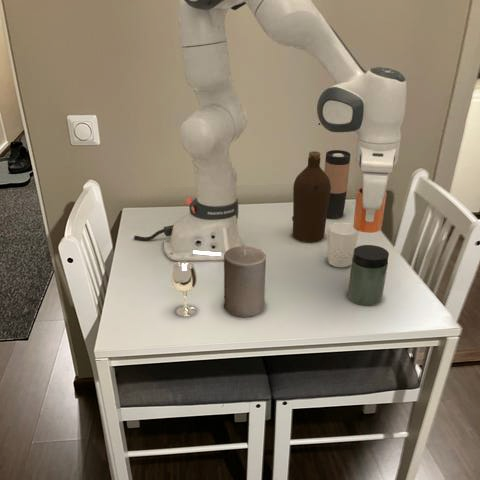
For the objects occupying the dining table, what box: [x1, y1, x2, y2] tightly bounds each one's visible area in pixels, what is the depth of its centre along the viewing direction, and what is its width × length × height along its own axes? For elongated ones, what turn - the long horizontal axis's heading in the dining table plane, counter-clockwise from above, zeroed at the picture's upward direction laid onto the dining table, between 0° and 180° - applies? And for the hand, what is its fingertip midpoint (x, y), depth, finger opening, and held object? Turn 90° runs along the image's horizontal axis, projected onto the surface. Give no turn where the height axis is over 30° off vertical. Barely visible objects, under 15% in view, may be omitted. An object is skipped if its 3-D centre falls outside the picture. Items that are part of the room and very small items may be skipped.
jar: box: [347, 258, 389, 307], centre depth 133 cm, size 8×8×12 cm
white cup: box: [327, 222, 359, 268], centre depth 149 cm, size 8×8×10 cm
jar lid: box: [353, 244, 390, 268], centre depth 130 cm, size 8×8×2 cm
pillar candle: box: [223, 245, 267, 318], centre depth 128 cm, size 10×10×15 cm
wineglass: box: [170, 261, 198, 317], centre depth 127 cm, size 6×6×12 cm
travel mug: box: [323, 149, 352, 220], centre depth 174 cm, size 8×8×20 cm
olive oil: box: [291, 150, 331, 244], centre depth 159 cm, size 11×11×25 cm
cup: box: [353, 186, 387, 234], centre depth 124 cm, size 6×6×8 cm
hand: (369, 214), depth 124 cm, fingers closed on cup, 6 cm apart
